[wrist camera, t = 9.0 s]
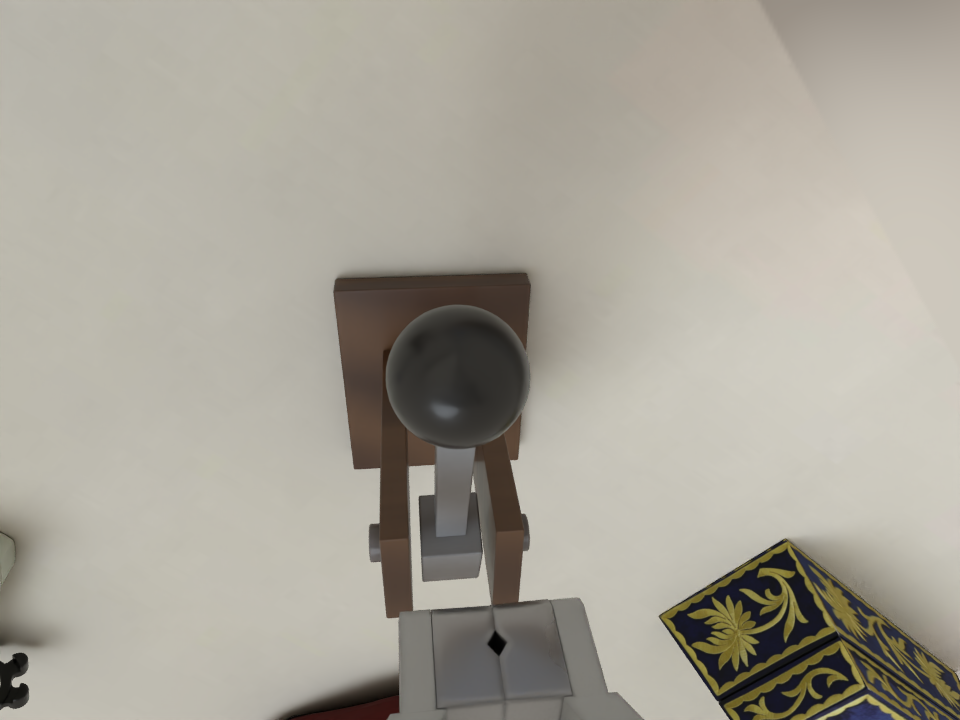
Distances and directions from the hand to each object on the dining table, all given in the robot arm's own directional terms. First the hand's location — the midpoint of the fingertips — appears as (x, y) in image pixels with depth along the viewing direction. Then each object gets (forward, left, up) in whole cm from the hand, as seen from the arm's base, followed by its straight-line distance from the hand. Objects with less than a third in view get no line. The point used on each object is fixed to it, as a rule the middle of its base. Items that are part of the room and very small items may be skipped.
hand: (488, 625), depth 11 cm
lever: (+1, +4, -10) cm, 11 cm away
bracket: (+3, +10, -22) cm, 24 cm away
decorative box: (-18, +47, -22) cm, 55 cm away
